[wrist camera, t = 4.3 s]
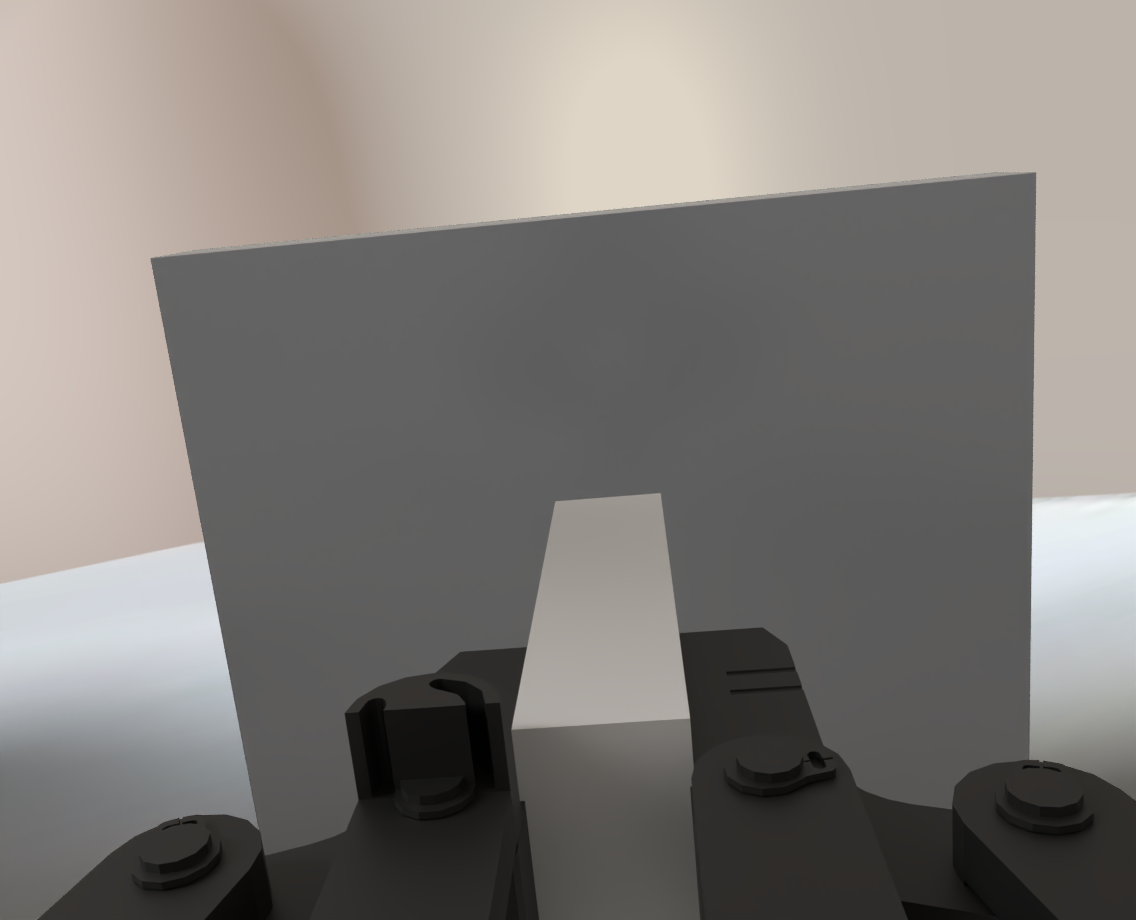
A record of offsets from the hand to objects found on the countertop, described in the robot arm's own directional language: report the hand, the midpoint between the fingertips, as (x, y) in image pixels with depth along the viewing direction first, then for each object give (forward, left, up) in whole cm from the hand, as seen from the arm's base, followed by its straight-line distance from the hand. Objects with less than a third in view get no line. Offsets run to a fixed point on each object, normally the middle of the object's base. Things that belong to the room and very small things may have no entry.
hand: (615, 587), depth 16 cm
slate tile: (-3, +6, -9) cm, 11 cm away
